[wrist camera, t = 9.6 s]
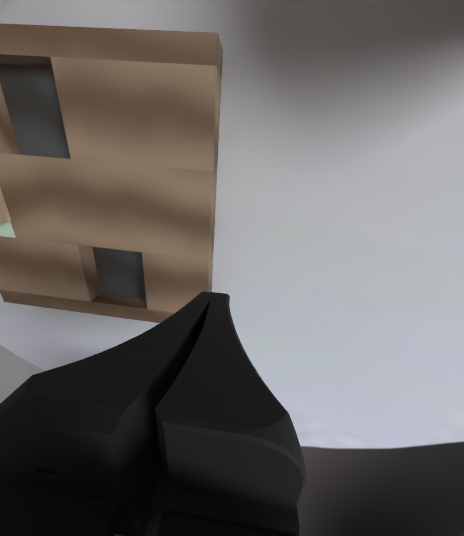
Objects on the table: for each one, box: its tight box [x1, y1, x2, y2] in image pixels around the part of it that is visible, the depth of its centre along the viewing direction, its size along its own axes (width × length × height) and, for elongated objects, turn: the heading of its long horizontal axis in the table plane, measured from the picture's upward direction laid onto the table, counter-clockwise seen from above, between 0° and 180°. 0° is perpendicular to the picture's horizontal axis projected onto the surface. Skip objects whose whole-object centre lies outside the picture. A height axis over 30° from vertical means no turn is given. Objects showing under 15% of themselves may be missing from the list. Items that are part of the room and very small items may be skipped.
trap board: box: [0, 24, 223, 323], centre depth 19 cm, size 22×22×2 cm
